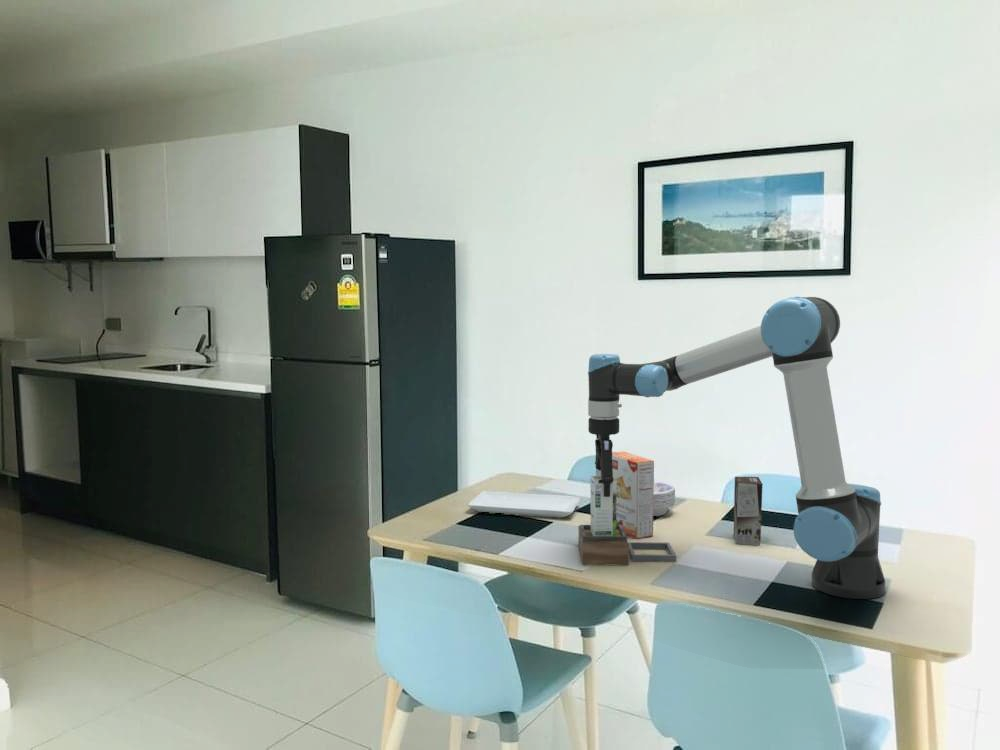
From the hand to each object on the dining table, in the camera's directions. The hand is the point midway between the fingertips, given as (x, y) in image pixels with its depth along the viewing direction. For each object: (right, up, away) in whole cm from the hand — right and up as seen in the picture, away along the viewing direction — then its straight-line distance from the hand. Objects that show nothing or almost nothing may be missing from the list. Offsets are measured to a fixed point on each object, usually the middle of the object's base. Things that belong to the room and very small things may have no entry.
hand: (603, 502), depth 207 cm
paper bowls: (+18, -9, +40) cm, 45 cm away
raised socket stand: (0, -13, +1) cm, 13 cm away
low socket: (+12, -13, +1) cm, 18 cm away
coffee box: (+39, -12, +13) cm, 43 cm away
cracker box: (+9, -11, +21) cm, 26 cm away
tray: (-18, -10, +43) cm, 48 cm away
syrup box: (0, -8, +1) cm, 9 cm away
